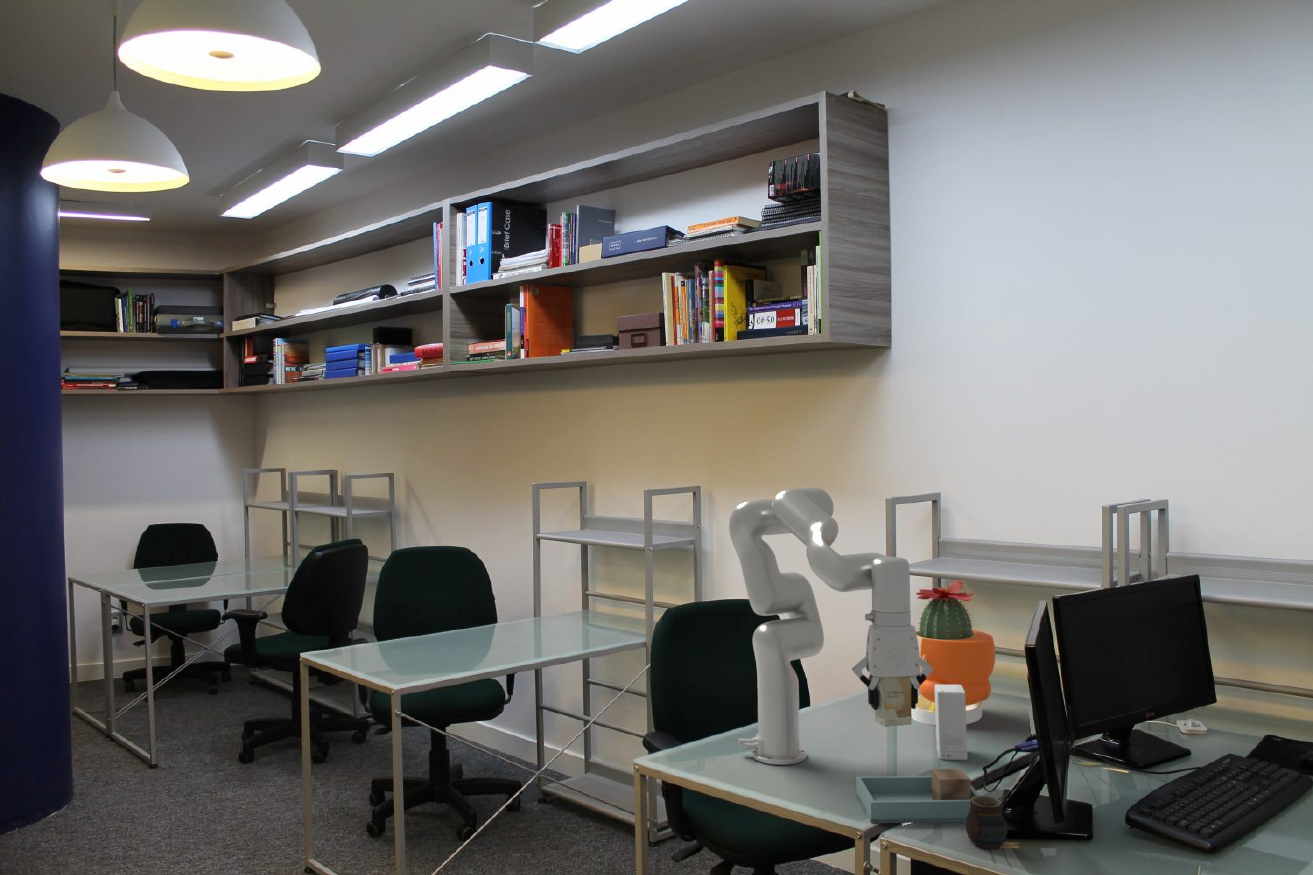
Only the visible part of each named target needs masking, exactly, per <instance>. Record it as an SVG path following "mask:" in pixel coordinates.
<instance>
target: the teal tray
mask: <svg viewBox="0 0 1313 875" xmlns="http://www.w3.org/2000/svg"><path fill="white" fill-rule="evenodd" d="M855 780H856V782H855V784H856V789H855V790H856V794H855V795H856V798H857V799H858V801H859V804H860V805H861V807H862V809H863V811H864V812H865V814H866V816H867V819H868V820H869V822H870V824H904V823H906V824H912V823H913V824H914V823H916V824H919V823H922V824H923V823H926V824H927V823H929V824H930V823H966V819H967V816H968V814H969V811H970V802H971V801H970V800H932V775H899V776H898V775H895V776H892V775H891V776H888V775H887V776H885V775H884V776H878V775H877V776H856V777H855ZM974 796H981V794H979V792H978V791H977V790H976V789H975V788H974V787H973V785H971V798H972V797H974Z"/></svg>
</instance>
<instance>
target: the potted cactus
mask: <svg viewBox="0 0 1313 875" xmlns="http://www.w3.org/2000/svg"><path fill="white" fill-rule="evenodd" d="M963 585H964V582H962V581H961V580H954V581H953V583H951V584H950V585H949V586H946V587H945V588H944V587H941V588H940V586H938V587H937V588H935V587H934V588H931V589H918V591H919V592H916V593H915V595H916V596H917V595H918V597H917V599H919V600H927V601H928V602H927V603H924V605H925V607H921V609H922V612H920V613H919V614H920V615H921V617H919V616H918V621H917V625H919V627H918V629H917V630H916V633H917V639H918V646H919V656H920V658H921V659H923V660H924V661H925V662H926V663H927V664H929V665H930V666H931V667H932V668H933V671H932V672H931V673H930V674H929V676H927V678H926V680H925V681H924V682H923V683H922V684H921V685H920V688H919V689H918V692H920V694H921V695H918V704H916V709H912V708H911V716H912V720H914V721H915V722H918V723H922V724H925V725H931V726H936V717H935V685H962V687H963V689H964V692H965V703H966V725H969V724H972V723H973V724H974V723H976V722H977V721H979V720H981V719H982V717H983V701H986V700H988V698H989V697H990V696H991V693H992V685H991V682H990V677H991V675H992V673H993V671H994V667H995V663H996V648H995V641H994V637H993V635H990V634H989V633H986V632H983V631H981V630H980V631H979V630H975V629H973V622H972V621H974V619H972V618H971V617H972V616H971V614H970V612H969V609H968V608H966V604H964V602H967V601H970V600H972V596H973V595H974V594H973V592H972V593H968V594H967V592H959V591H960V590H961V589H962V588H963ZM922 670H923V667H922V666H920V673H921V672H922Z"/></svg>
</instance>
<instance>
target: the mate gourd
mask: <svg viewBox="0 0 1313 875" xmlns="http://www.w3.org/2000/svg"><path fill="white" fill-rule="evenodd" d="M970 801H971V802H970V811H969V814H968V816H967V819H966V822H965V828H966V833H967V837H968V839H969V840H970V842H972V843H973V844H974V845H976V846H977V847H979V848H982V849H992V850H993V849H997V848H999V847H1001V846H1002V845H1003V844H1004V843H1005V842H1006V838H1007V835H1008V824H1007V820H1006V817H1005V814H1004V812H1003V802H1002V800H1000V799H998V798H997V797H993V796H990V795H983V794H982V795H981V794H980V796H974V797H972V798H971V800H970Z"/></svg>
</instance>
